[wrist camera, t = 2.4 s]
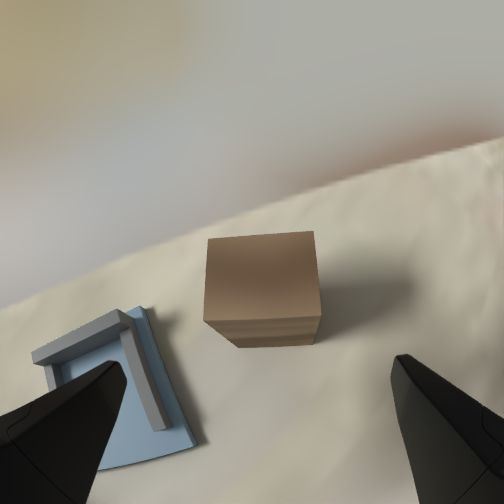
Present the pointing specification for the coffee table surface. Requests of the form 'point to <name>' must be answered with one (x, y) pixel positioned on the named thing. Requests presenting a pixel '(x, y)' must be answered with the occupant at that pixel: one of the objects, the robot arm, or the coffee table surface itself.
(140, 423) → the cradle
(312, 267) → the walnut block
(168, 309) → the coffee table surface
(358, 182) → the coffee table surface
